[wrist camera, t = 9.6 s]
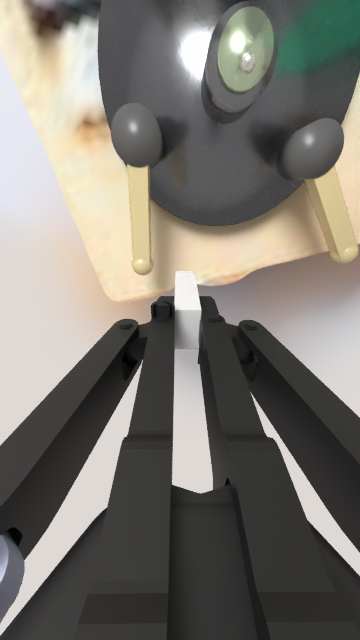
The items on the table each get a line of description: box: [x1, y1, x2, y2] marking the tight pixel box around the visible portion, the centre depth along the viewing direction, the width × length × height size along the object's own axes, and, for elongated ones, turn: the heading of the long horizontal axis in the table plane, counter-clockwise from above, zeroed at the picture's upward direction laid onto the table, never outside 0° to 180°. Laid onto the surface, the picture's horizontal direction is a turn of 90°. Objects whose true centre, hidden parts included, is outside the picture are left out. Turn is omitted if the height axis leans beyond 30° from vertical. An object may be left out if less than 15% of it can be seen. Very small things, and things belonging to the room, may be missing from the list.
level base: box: [98, 0, 360, 226], centre depth 21 cm, size 28×28×10 cm
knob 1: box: [111, 103, 163, 275], centre depth 27 cm, size 18×5×5 cm, turn 177°
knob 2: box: [276, 118, 358, 264], centre depth 27 cm, size 18×5×5 cm, turn 36°
